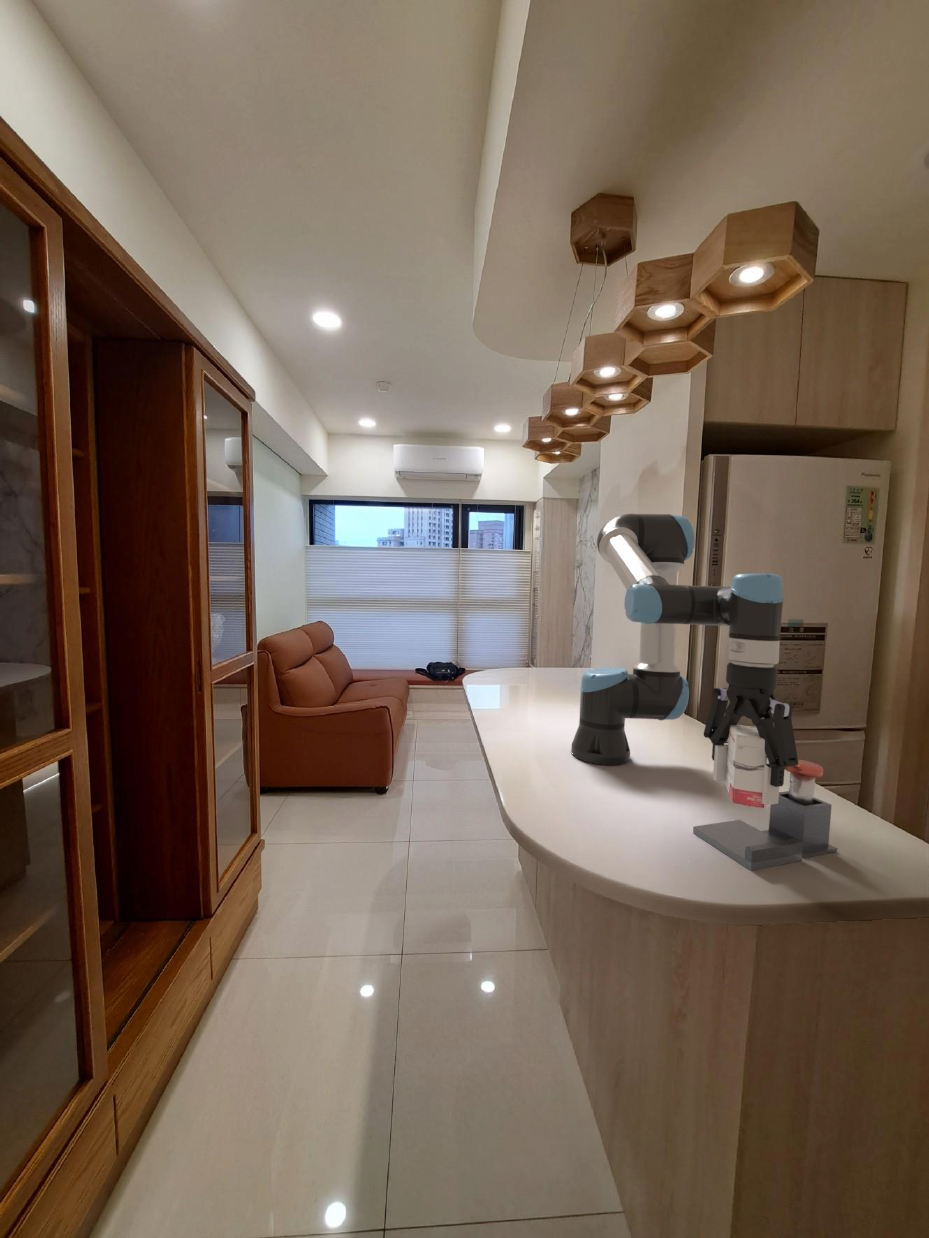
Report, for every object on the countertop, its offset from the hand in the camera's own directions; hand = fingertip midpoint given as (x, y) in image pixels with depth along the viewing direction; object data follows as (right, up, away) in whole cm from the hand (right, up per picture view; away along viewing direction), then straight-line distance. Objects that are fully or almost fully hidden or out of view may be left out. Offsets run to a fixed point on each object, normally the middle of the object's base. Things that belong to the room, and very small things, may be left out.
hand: (743, 790), depth 82 cm
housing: (+10, -10, +1) cm, 14 cm away
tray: (0, -10, 0) cm, 9 cm away
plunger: (+11, -5, +1) cm, 12 cm away
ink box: (0, -1, 0) cm, 1 cm away
